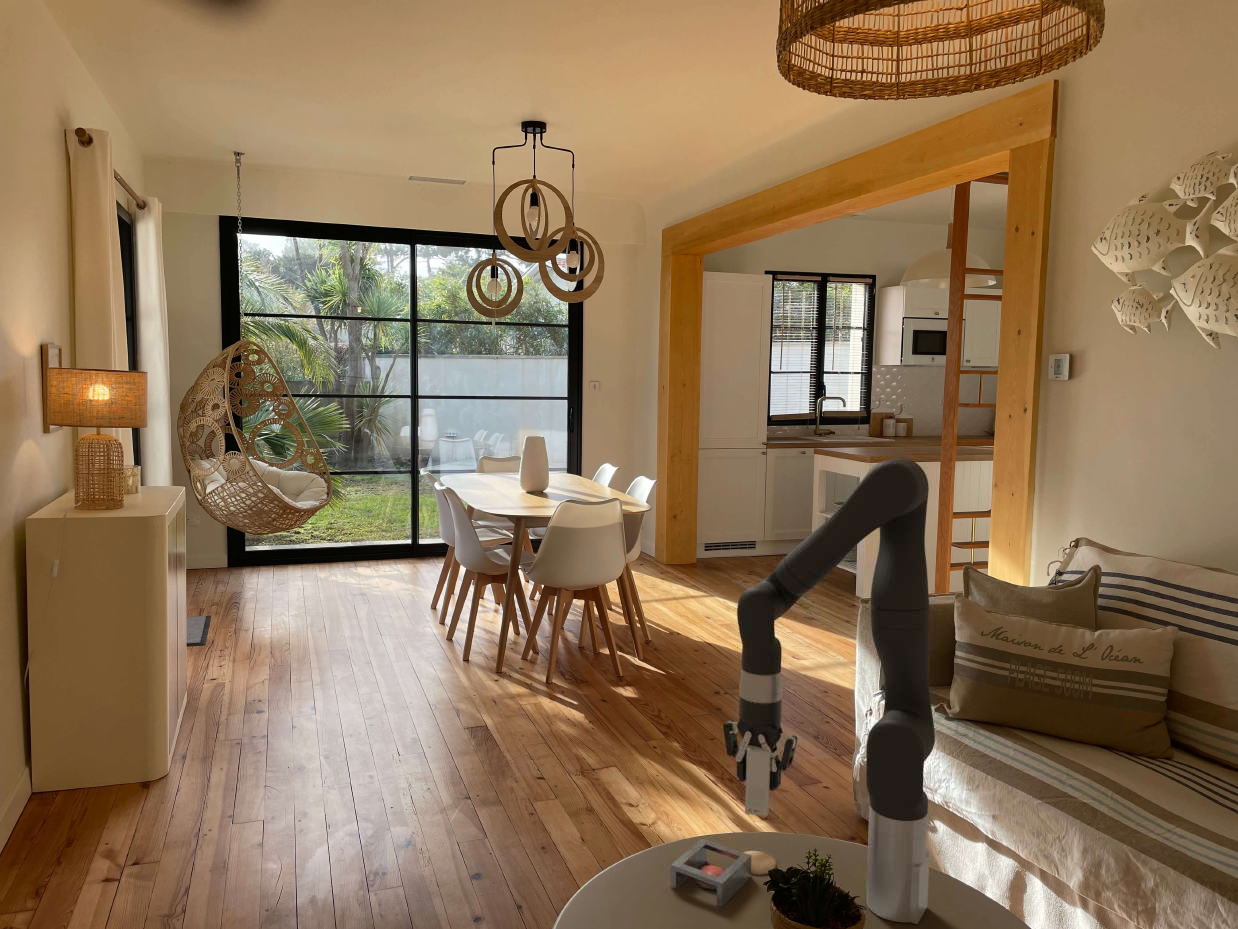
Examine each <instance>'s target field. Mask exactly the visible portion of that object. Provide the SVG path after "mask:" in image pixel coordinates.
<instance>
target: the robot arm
mask: <svg viewBox="0 0 1238 929" xmlns="http://www.w3.org/2000/svg"><path fill="white" fill-rule="evenodd" d="M929 487H930V486H929V480H928V477H927V474H926V473H925V470H924V469H923V468H922V467H921V466H920V465H919V464H918V463H917V462H915V461H914V460H912V459H909V458H904V457H896V458H891V459H887V460H883V461H880V462H878V463H876V464H875V465H873V466H872V467H871V468H870V469H869V470H868V472H866V475H865V476H864V477H863V479H862V480H861V481H860V482H859V483H858V485H857V487H856V488H854V490H853V491H852V493H851V494H850V495H849V496H848V498H847V499H846V500H845V501H844V503H842V505H840V507H839V508H838V509H837V510H836V511H835V512H834V513H833V514H832V515H831V516H830V517H829V518H828V519H827V520H825V522H823V523H822V524H821V525H820V526H819V527H818V528H816V529H815V530H814V531H813V532H812V533H811V534H810V535H808V536H807V537H806V538H804V540H802V541H801V542H800V543H799V544H798V545H797V546H795V547H794V548H793V549H792V550H791V551H790V552H789V553H788V554H786V555H785V556H784V557H783V558H782V559H781V561H780V562H779V563H778V564H777V566H776V567H775V569H774V570H773V571H772V572H771V573H769V575H768V576H767V577H765V578H764V579H763V580H761V581H760V582H758V583H757V584H755V585H753V586H751V587H749V588H747V589H746V590H744V591H743V592H742V593H741V595H740V596H739V598H738V602H737V609H736V617H737V618H736V620H737V625H738V631H739V637H740V640H741V643H742V644H741V645H742V649H741V671H740V679H739V687H738V691H739V702H738V706H739V707H738V717H739V719H738V721H735V720H733V719H730V720H728V721H726V722H725V723H723V725H722V728H723V735H724V736H723V737H724V742H725V748H726V750H725V751H726V754H727V756H728V757H733V758H734V759H735V760H736V777H737V778H738V781H739V782H741V783H745V782H746V764H747V747H748V745H752V746H756V747H760V748H763V750H766V751H769V752H770V768H771V770H770V786H769V789H770V792H771V791H772V792H775V791H776V790H777V789H778V788H779V787H780V786H781V784H782V772H783V771H785V772H786V771H787V770H788V769H789V768H790V767H792V765H793V761H794V755H795V753H796V748H797V743H798V737H797V736H796V735H795V734H794V735H788V734H786V733H784V732H783V729H782V726H781V723H782V705H783V704H782V702H783V678H782V654H783V653H782V652H783V651H782V650H783V648H782V644H781V641H780V640H779V638H777V637H776V632H775V631H776V630H775V621H776V620H779V618H781V617H782V616H784V615H785V614H786V613H787V612H789V610H790V609H791V608H792V607H793V606H794V605H795V604H796V603H797V602H798V601H799V600H800V599H801V597H803V595H805V594H807V593H808V592H809V591H811V590H812V589H813V588H814V587H815V586H816V585H818V584H819V583H820V582H821V581H822V580H824V578H826V577H827V576H828V575H829V574H830V573H831V572H832V571H834V569H835V568H837V566H839V565H840V563H841V562H842V561H843V560H844V559H845V558H846V557H847V555H849V553H850V552H851V551H852V550H853V549H854V548H856V546H857V545H858V544H859V543H860V542H861V541H863V540H864V539H865V538H866V537H868V536H869V535H870V534H872V532H874V531H876V530H877V529H879V546H878V552H877V557H876V562H875V566H874V572H873V576H872V584H871V588H870V590H871V591H870V625H871V635H872V640H873V644H874V647H875V650H876V652H877V656H878V658H879V661H880V664H881V668H882V670H883V677H884V701H883V702H884V704H883V705H884V706H883V712H882V713H883V714H882V717H881V718H880V719H878V720H877V722H876V723H875V724H873V726H872V727H871V729H870V730H869V732H868V736H867V740H866V750H865V751H866V753H865V754H866V756H865V757H866V759H865V761H866V762H865V763H866V765H865V767H866V770H865V771H866V773H865V774H866V776H865V777H866V781H865V782H866V790H867V793H868V795H869V808H868V810H869V811H868V813H869V814H868V835H867V836H868V838H867V863H866V864H867V865H866V867H867V868H866V889H865V890H866V891H865V892H866V894H865V896H866V900H865V901H866V902H865V903H866V906H867V908H868V909H869V910H870V911H871V912H872V913H874V914H875V915H876V916H878V917H880V918H882V919H884V920H888V921H891V922H897V923H912V924H914V925H918V924H919V922H920V920H921V918H922V917H923V915H924V914H925V912H926V910H927V909H928V900H929V899H928V898H929V896H928V895H929V875H930V873H929V872H930V853H929V852H927V836H928V835H927V833H928V812H929V811H928V810H929V798H928V795H927V793H926V792H925V791H924V773H925V771H924V768H925V765H924V764H925V761H926V760H928V758H929V756H930V755H931V754H932V752H933V749H934V746H935V743H936V742H935V741H936V734H935V733H936V730H935V725H934V724H935V722H934V716H933V710H932V709H933V708H932V703H931V702H932V701H931V694H930V682H929V681H930V680H929V678H930V675H929V674H930V673H929V672H930V671H929V670H930V632H931V631H930V630H931V629H930V628H931V626H930V624H931V623H930V598H929V594H930V593H929V582H928V581H929V577H928V565H927V557H926V544H925V541H926V522H927V509H928V501H929ZM738 732H739V734H740V736H741V738H742V741H741V743H740V745H739V741H738V735H737V733H738ZM779 741H781V746H782V748H783V751H782V757H781V755H780V752H781V750H780V747H779V745H778V744H779V743H778V742H779Z"/></svg>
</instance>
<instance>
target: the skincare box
mask: <svg viewBox="0 0 1238 929" xmlns="http://www.w3.org/2000/svg"><path fill="white" fill-rule="evenodd" d="M746 759H747V764H746V781H745V798H744V799H745V801H744V802H745V803H744V804H745V805H744V814H745V815H751V816H752V815H753V816H759V817H760V816H761V817H769V810H770V809H769V808H770V800H771V790H770V789H769V786H770V770H771V768H770V752H769V751H766V750H763V748H760V747H756V746H752V745H748V747H747V757H746Z"/></svg>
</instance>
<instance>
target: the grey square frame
mask: <svg viewBox="0 0 1238 929" xmlns="http://www.w3.org/2000/svg"><path fill="white" fill-rule="evenodd" d="M708 851H710V852H711V851H712V852H715V853H717V854H720V855H722V856H726V857H728V858H731V859H734V861H733V862H732V863H731V864H730V865H729V866H728V867H727V868H726V869H725V870H724V872H723V873H722V874H721V875H720V876H719V877H718V876H715V875H712V874H710V873H707V872H704V871H701V870H699V869H700V868H701V867H703V865H704V864H705V863H706V862H707V860H708V859H707V857H708V856H707V854H708ZM751 858H752V855H749V854H746V853H743V851H739V850H737V849H734V848H731V847H728V846H725V845H723V844H719V843H717V842H714V841H710V840H708V839H705V838H701V839H700V840H698V842H696V843H695V844H694V845H692V846H691V847H690V848H689V849H688V850H687V851H685V852H684V853H683V854H682V855H681V856H680V857H678V858H677V859H676V860H675V861H674V862H672V864H670V888H672V889H677V888H678V887H679V886H681V885H682V884H683V883H684V882H685V881H687V879H689V878H690V877H691V878H694V879H695V878H696V879H699V880H701V881H704V882H707V883H709V884H712V885H715V886H717V889H716V905H717V906H719V907H723V906H724V905H725V904H726V903H727V902H728V901H729V900H730V899H731V898H732V897H733V896H734V895H735V894H736V893H737V892H738V891H739V890H740V889H741V888H742V887H743V886H744V885H745V884H746V883H747V881H748V880H750V879H751V877H752V874H751Z"/></svg>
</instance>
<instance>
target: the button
mask: <svg viewBox="0 0 1238 929" xmlns="http://www.w3.org/2000/svg"><path fill="white" fill-rule="evenodd" d="M698 869H699V870H701V871H704V872H707V873H710V874H712V875H715V876H718V877H719V876H720V875H721V874H722V873H723V872H724V871H725V870H724V869H723V868H721V867H719V866H717V865H704V866H703V865H702V866H700V867H699V868H698ZM694 879H695V883H696V884H697V885H698V886H700V887H701V888H704V889H707V890H717V886H715V885H712V884H709V883H707V882H704V881H701V880H699V879H696V878H694Z"/></svg>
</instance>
